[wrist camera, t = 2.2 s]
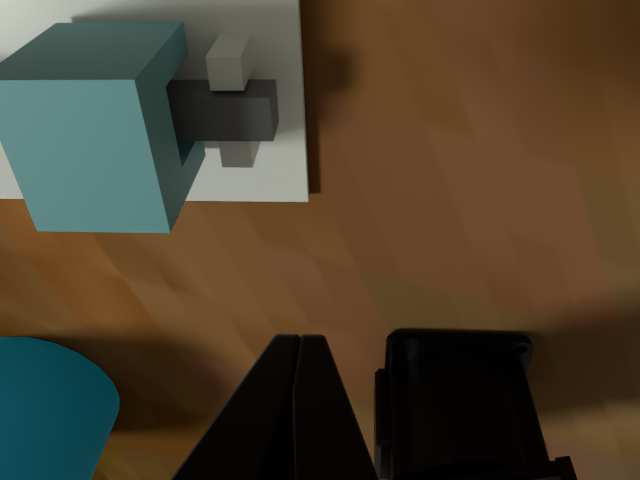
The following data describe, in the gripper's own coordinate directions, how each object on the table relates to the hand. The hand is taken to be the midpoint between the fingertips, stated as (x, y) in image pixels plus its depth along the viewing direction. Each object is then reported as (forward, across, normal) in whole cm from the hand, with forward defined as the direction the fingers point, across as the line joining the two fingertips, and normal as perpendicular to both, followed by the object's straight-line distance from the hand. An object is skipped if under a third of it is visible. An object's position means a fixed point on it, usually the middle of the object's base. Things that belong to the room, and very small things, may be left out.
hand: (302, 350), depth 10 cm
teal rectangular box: (+12, +6, 0) cm, 13 cm away
